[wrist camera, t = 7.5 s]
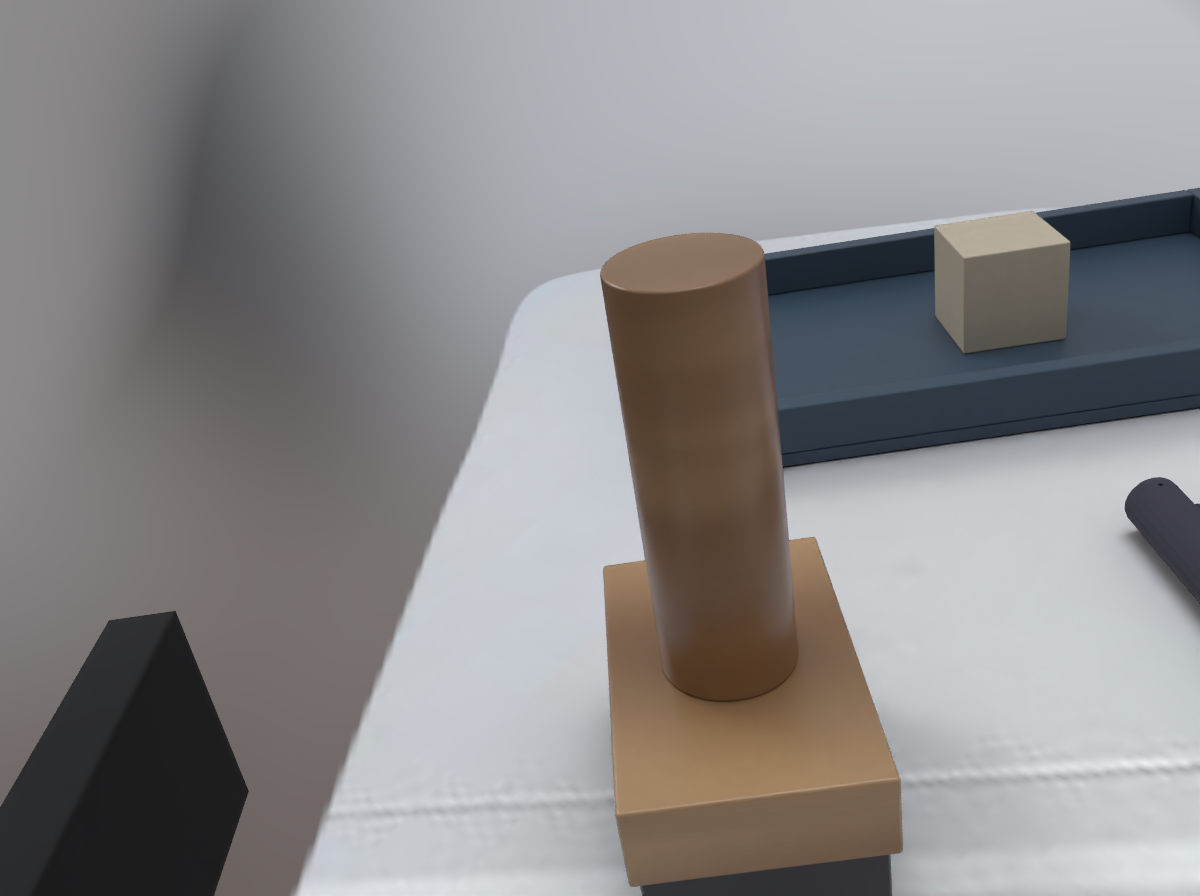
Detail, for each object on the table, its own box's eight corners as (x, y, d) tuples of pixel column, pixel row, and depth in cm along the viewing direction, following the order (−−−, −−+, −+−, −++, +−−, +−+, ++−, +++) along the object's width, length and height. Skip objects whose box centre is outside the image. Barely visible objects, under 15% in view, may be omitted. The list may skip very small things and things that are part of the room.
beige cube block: (963, 354, 45) (963, 257, 43) (934, 316, 49) (933, 225, 47) (1066, 339, 45) (1071, 241, 43) (1030, 302, 48) (1033, 210, 46)
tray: (707, 478, 41) (700, 421, 40) (671, 314, 54) (665, 268, 53) (1418, 376, 39) (1430, 315, 38) (1198, 235, 53) (1203, 186, 52)
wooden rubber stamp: (906, 936, 24) (885, 326, 17) (644, 968, 24) (528, 379, 17) (825, 671, 31) (789, 175, 24) (626, 698, 31) (539, 214, 25)
